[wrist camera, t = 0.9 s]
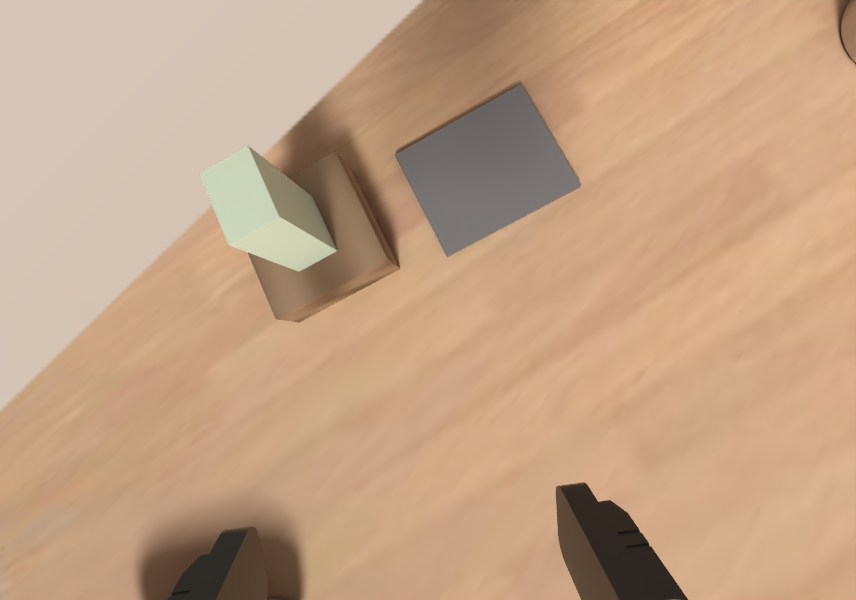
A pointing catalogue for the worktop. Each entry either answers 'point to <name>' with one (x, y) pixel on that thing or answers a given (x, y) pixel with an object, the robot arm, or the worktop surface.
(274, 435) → the worktop surface
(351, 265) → the brown rectangular box
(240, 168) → the pale green rectangular block
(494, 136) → the mat
